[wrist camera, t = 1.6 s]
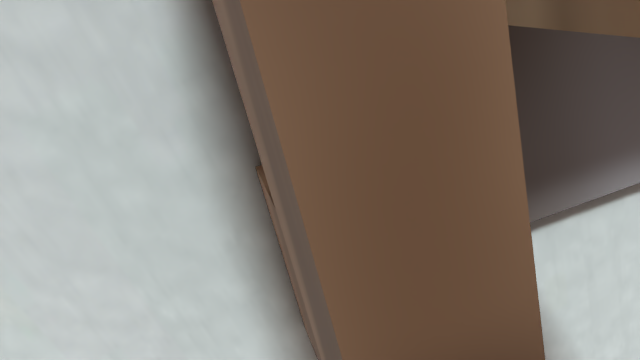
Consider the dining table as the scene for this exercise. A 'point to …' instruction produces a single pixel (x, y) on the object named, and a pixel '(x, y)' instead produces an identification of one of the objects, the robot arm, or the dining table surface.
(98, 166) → the dining table surface
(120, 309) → the dining table surface
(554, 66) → the slotted stand
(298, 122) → the brown rectangular block
